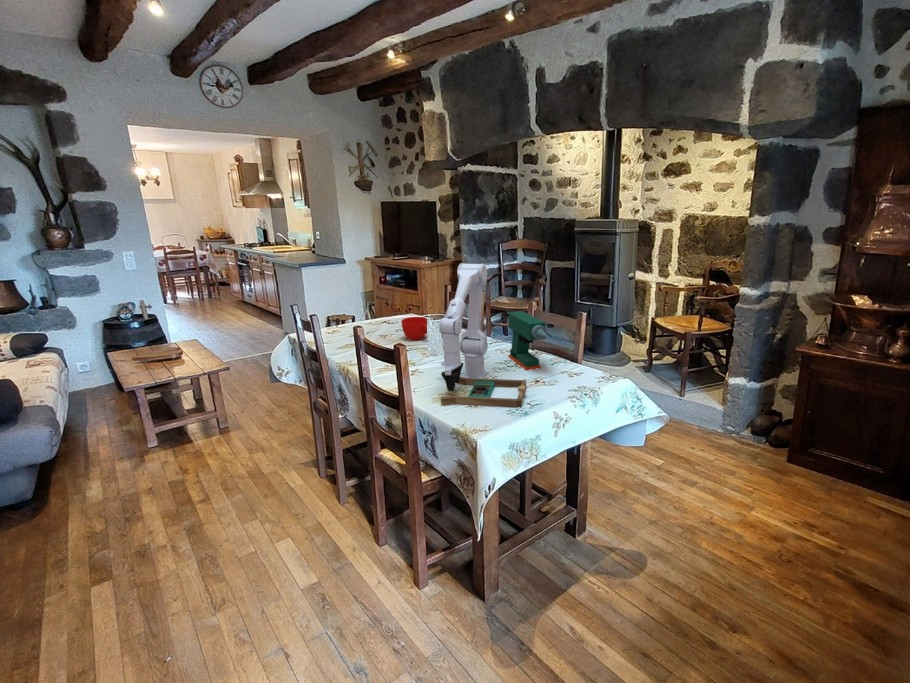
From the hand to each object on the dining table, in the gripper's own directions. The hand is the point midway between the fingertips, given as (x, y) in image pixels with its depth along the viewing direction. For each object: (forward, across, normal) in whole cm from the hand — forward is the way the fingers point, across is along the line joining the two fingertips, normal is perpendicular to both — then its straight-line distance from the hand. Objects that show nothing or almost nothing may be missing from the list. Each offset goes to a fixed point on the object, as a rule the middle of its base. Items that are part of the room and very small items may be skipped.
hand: (453, 386), depth 177 cm
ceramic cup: (+3, -66, -34) cm, 74 cm away
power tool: (+3, -30, +26) cm, 40 cm away
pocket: (+2, 0, +12) cm, 12 cm away
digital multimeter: (+3, 0, +10) cm, 11 cm away
